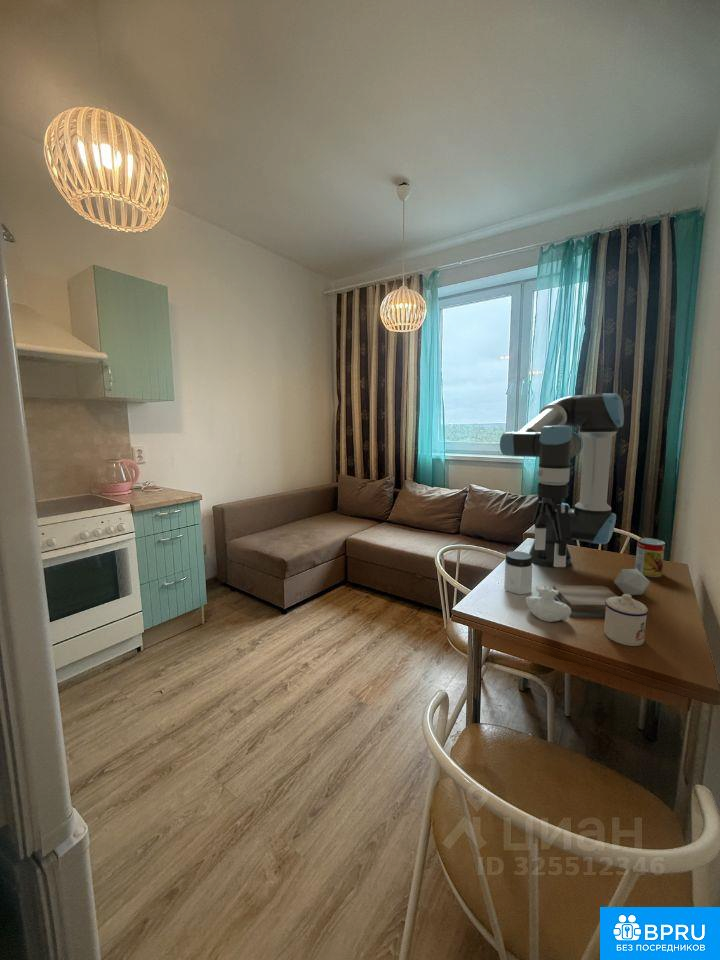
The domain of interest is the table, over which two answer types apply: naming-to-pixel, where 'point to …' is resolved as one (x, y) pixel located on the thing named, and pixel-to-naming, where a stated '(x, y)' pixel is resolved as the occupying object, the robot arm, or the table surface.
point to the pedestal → (584, 599)
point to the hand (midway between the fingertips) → (548, 557)
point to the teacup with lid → (625, 620)
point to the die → (631, 581)
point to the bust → (548, 605)
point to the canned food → (650, 556)
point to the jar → (518, 572)
